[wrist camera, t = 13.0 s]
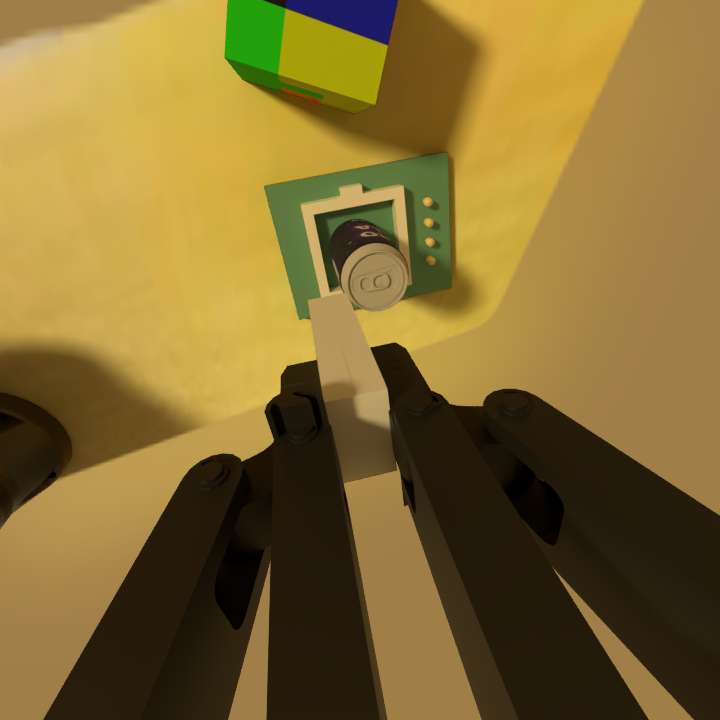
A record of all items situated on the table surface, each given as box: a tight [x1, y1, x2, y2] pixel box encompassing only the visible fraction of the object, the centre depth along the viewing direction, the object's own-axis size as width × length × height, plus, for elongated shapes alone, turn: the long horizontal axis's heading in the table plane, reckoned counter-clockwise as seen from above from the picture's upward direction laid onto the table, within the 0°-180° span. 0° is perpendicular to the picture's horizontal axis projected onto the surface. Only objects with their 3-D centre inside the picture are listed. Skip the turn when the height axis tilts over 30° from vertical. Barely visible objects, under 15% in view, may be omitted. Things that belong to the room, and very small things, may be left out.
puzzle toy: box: [225, 0, 398, 114], centre depth 27 cm, size 10×10×10 cm
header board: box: [264, 152, 451, 320], centre depth 39 cm, size 18×14×3 cm
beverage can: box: [329, 219, 409, 311], centre depth 34 cm, size 6×6×12 cm
